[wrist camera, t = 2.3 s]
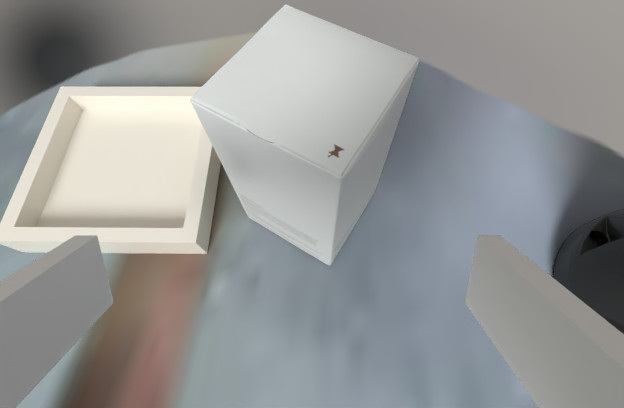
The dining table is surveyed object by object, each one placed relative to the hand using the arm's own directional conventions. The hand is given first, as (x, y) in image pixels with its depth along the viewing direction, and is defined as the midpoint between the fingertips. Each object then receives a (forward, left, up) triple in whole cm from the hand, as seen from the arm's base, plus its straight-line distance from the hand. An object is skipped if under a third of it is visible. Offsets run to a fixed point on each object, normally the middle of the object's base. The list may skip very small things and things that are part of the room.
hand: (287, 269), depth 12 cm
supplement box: (-1, -10, -16) cm, 19 cm away
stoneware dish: (+16, -13, -16) cm, 26 cm away
